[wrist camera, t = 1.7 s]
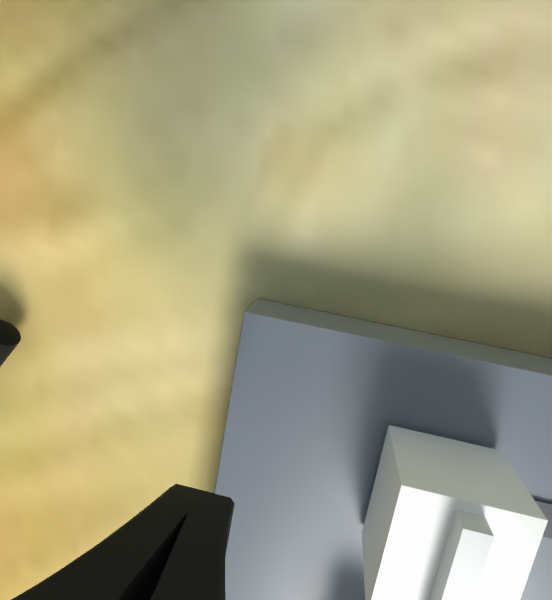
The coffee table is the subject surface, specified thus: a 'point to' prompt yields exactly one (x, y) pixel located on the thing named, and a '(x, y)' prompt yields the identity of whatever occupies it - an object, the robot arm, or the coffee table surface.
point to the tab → (447, 522)
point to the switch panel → (358, 439)
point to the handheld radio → (7, 339)
